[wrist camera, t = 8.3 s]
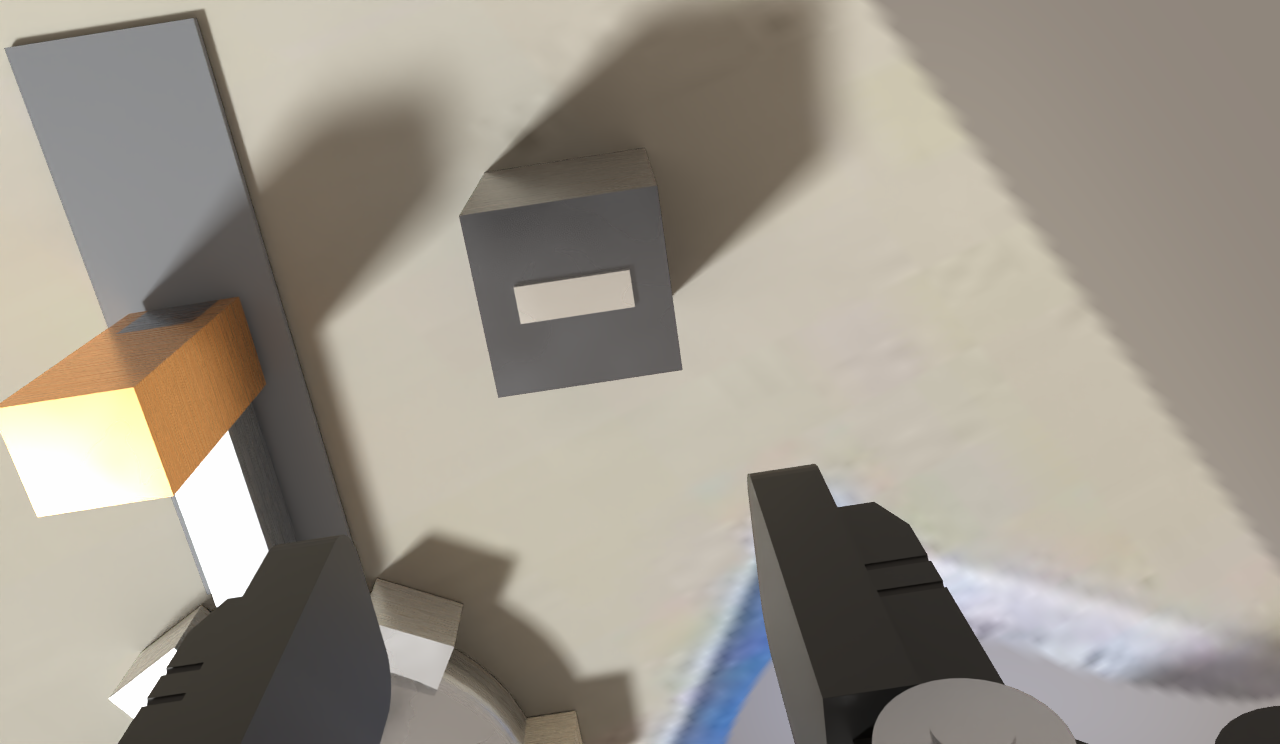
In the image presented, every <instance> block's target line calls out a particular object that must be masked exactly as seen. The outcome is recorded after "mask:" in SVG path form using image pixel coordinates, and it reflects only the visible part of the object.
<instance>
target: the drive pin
mask: <svg viewBox="0 0 1280 744" xmlns="http://www.w3.org/2000/svg"><path fill="white" fill-rule="evenodd" d="M265 385H266V381H265V378H264V375H263V372H262V368H261V365H260V362H259V359H258V356H257V353H256V349H255V346H254V343H253V340H252V337H251V334H250V330H249V327H248V324H247V321H246V318H245V314H244V311H243V308H242V305H241V302H240V299H239V297H233V298H227V299H220V300H214V301H207V302H201V303H195V304H188V305H182V306H175V307H169V308H163V309H156V310H150V311H143V312H137V313H130V314H128V315H126V316H125V317H124V318H122V319H121V320H119V321H118V322H116V323H115V324H114V325H112V326H111V327H109V328H108V329H106V330H105V331H103V332H102V333H101V334H99V335H98V336H96V337H95V338H93V339H92V340H91V341H89V342H88V343H86V344H85V345H83V346H82V347H80V348H79V349H78V350H76V351H75V352H73V353H72V354H70V355H69V356H67V357H66V358H65V359H63V360H62V361H60V362H59V363H57V364H56V365H55V366H53V367H52V368H50V369H49V370H47V371H46V372H44V373H43V374H42V375H40V376H39V377H37V378H36V379H34V380H33V381H31V382H30V383H29V384H27V385H26V386H24V387H23V388H21V389H20V390H19V391H17V392H16V393H14V394H13V395H11V396H10V397H8V398H7V399H6V400H4V401H3V402H1V403H0V431H1V434H2V436H3V438H4V441H5V443H6V445H7V447H8V450H9V452H10V454H11V457H12V459H13V461H14V464H15V466H16V468H17V471H18V473H19V475H20V477H21V480H22V482H23V484H24V487H25V489H26V491H27V494H28V496H29V498H30V501H31V503H32V505H33V507H34V510H35V512H36V514H37V517H40V516H46V515H53V514H59V513H66V512H72V511H79V510H85V509H92V508H98V507H105V506H111V505H118V504H124V503H131V502H137V501H144V500H150V499H157V498H163V497H170V496H174V495H175V496H176V498H177V501H178V504H179V507H180V509H181V512H182V515H183V517H184V520H185V523H186V526H187V528H188V531H189V534H190V536H191V539H192V542H193V545H194V547H195V550H196V553H197V555H198V558H199V561H200V563H201V566H202V569H203V572H204V574H205V577H206V580H207V582H208V585H209V588H210V591H211V593H212V596H213V599H214V601H215V604H216V607H218V606H219V605H221V604H222V603H223V602H224V601H225V600H226V599H228V598H235V597H241V596H243V594H244V593H245V591H246V589H247V588H248V586H249V584H250V582H251V581H252V579H253V577H254V575H255V574H256V572H257V570H258V569H259V567H260V565H261V563H262V562H263V560H264V558H265V556H266V555H267V553H268V551H269V550H270V549H271V548H272V547H273V546H274V545H277V544H284V543H290V542H297V539H296V536H295V533H294V530H293V527H292V524H291V520H290V517H289V514H288V511H287V508H286V505H285V502H284V499H283V496H282V493H281V489H280V486H279V483H278V480H277V477H276V474H275V471H274V468H273V465H272V462H271V458H270V455H269V452H268V449H267V446H266V443H265V440H264V437H263V434H262V431H261V427H260V424H259V421H258V418H257V415H256V412H255V409H254V406H253V403H252V401H253V400H254V399H255V397H256V396H257V395H258V394H259V393H260V391H261V390H262V389H263V388H264V386H265Z"/></svg>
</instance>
